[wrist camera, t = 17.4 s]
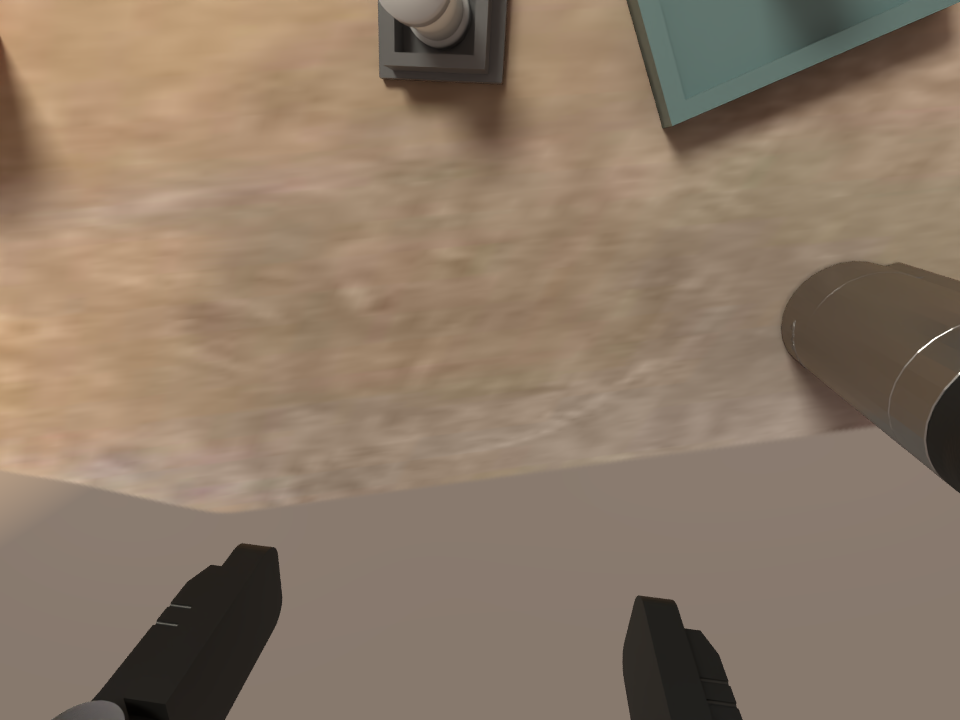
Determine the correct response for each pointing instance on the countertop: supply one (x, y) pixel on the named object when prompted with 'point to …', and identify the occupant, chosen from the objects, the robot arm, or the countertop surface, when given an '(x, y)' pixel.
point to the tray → (751, 43)
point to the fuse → (433, 20)
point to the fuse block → (462, 63)
